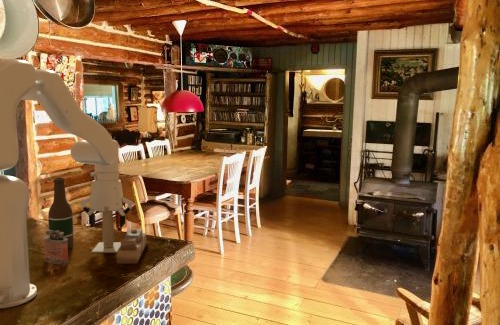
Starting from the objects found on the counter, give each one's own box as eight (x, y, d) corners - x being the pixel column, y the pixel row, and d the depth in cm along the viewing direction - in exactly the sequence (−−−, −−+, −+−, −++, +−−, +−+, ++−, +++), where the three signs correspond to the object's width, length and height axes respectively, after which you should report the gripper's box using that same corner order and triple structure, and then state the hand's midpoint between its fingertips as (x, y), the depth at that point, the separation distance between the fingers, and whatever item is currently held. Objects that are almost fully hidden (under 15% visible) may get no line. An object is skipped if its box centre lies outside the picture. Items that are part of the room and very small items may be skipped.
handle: (113, 242, 147) (112, 201, 145) (118, 248, 142) (117, 205, 140) (99, 245, 145) (97, 203, 143) (103, 251, 140) (102, 207, 137)
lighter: (71, 261, 131) (70, 230, 130) (63, 265, 128) (62, 233, 127) (49, 258, 133) (48, 227, 132) (42, 261, 130) (40, 230, 129)
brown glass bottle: (78, 243, 147) (76, 176, 143) (66, 251, 139) (63, 180, 136) (57, 242, 148) (54, 175, 144) (44, 250, 140) (41, 179, 136)
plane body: (137, 263, 131) (136, 240, 130) (117, 263, 130) (116, 240, 129) (146, 243, 149) (146, 223, 148) (129, 243, 148) (128, 223, 147)
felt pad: (119, 252, 140) (119, 251, 140) (91, 252, 139) (91, 251, 139) (125, 243, 149) (125, 242, 148) (99, 243, 148) (99, 242, 148)
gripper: (76, 177, 135) (77, 229, 138) (131, 178, 137) (131, 229, 139) (83, 174, 143) (84, 222, 145) (135, 175, 144) (135, 223, 146)
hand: (107, 226), depth 142 cm, fingers open, 9 cm apart
